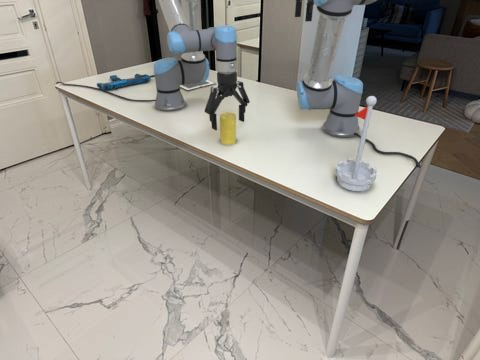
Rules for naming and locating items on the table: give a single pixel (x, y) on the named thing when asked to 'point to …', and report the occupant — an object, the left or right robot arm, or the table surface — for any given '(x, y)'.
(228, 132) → the canister
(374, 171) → the flag stand
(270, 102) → the table surface
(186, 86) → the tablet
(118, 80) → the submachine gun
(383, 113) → the table surface
